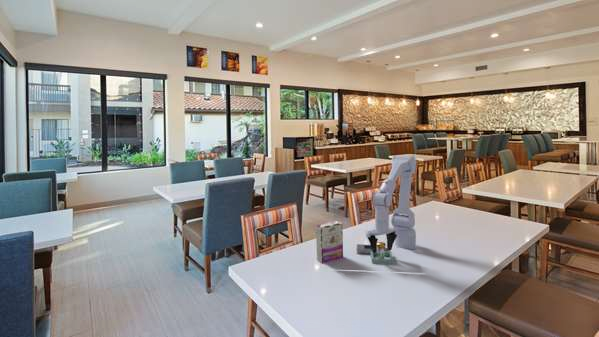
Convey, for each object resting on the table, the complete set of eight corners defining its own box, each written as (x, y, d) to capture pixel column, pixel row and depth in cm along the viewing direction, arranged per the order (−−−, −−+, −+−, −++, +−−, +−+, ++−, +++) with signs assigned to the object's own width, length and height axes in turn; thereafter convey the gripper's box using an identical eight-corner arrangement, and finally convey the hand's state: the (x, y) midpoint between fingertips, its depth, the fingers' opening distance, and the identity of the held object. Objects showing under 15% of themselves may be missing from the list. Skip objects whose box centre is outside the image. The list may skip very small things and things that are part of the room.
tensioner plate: (389, 250, 152) (389, 245, 151) (390, 256, 145) (391, 250, 144) (356, 249, 154) (356, 244, 154) (356, 255, 147) (356, 249, 147)
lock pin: (382, 256, 143) (382, 241, 142) (386, 260, 140) (387, 244, 139) (375, 258, 142) (375, 242, 141) (379, 261, 139) (379, 245, 138)
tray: (391, 256, 144) (391, 251, 144) (393, 265, 135) (393, 259, 135) (370, 255, 146) (370, 250, 145) (371, 264, 137) (371, 258, 137)
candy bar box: (337, 255, 148) (336, 220, 146) (343, 258, 143) (343, 222, 141) (316, 260, 143) (315, 224, 141) (322, 264, 138) (321, 227, 136)
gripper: (391, 216, 144) (390, 245, 146) (362, 219, 140) (362, 249, 141) (400, 220, 138) (400, 250, 139) (370, 224, 133) (370, 255, 135)
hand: (381, 250), depth 140 cm, fingers open, 7 cm apart
